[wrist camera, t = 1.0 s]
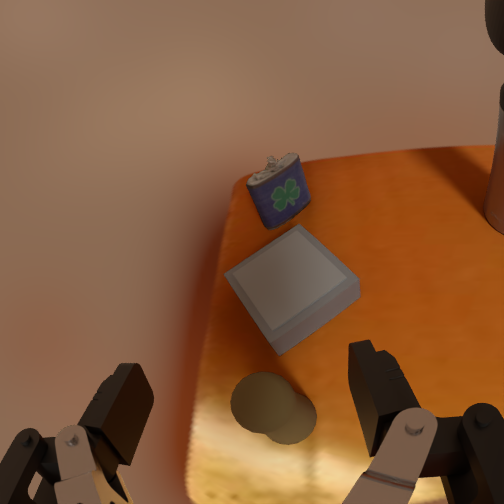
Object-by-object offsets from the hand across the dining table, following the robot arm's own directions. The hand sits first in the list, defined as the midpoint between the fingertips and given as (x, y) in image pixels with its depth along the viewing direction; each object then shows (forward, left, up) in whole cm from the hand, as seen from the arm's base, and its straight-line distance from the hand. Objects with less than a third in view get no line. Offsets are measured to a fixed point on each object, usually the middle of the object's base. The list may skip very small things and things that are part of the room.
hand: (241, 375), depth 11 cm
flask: (-15, -29, -23) cm, 40 cm away
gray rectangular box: (-7, -16, -22) cm, 28 cm away
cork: (+2, -3, -22) cm, 23 cm away
